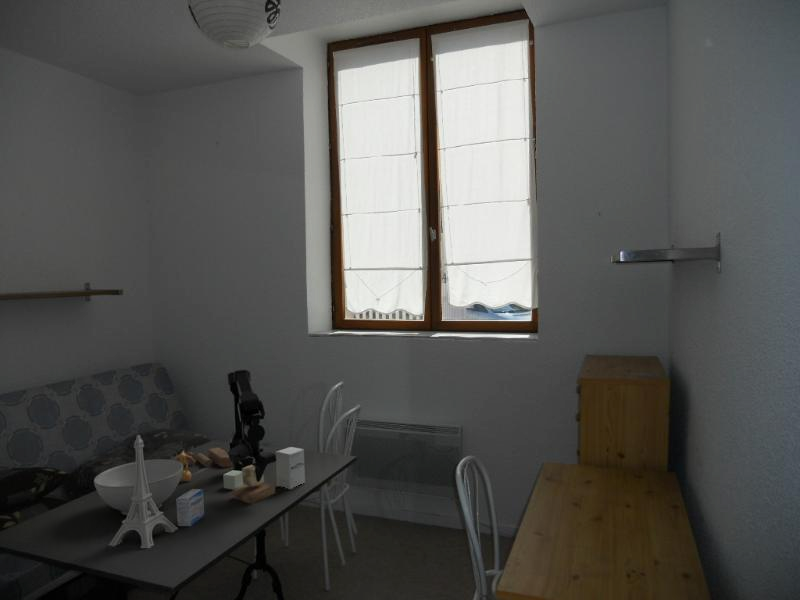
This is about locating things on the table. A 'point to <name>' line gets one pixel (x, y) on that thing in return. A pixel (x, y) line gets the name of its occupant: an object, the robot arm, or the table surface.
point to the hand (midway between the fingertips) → (253, 480)
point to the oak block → (250, 476)
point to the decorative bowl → (121, 483)
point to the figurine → (186, 474)
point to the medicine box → (190, 507)
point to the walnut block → (253, 492)
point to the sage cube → (233, 479)
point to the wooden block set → (210, 458)
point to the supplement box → (290, 467)
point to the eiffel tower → (142, 507)
